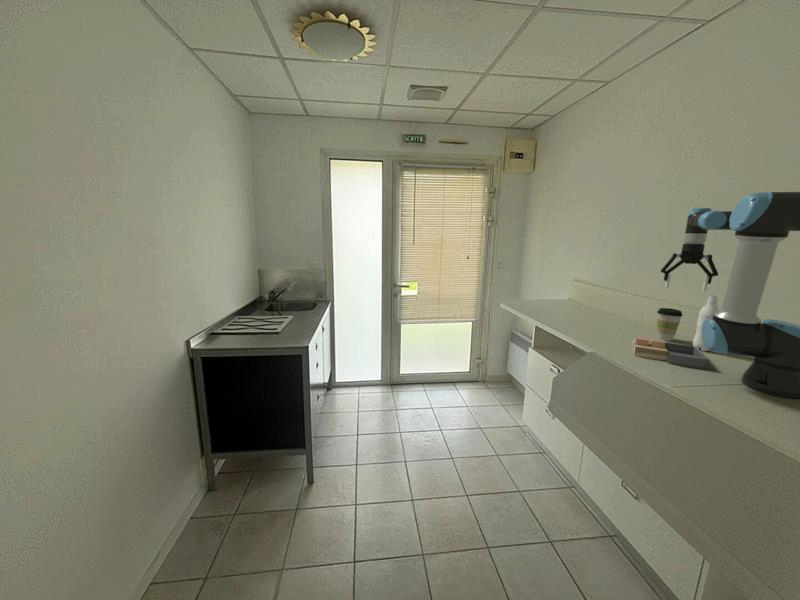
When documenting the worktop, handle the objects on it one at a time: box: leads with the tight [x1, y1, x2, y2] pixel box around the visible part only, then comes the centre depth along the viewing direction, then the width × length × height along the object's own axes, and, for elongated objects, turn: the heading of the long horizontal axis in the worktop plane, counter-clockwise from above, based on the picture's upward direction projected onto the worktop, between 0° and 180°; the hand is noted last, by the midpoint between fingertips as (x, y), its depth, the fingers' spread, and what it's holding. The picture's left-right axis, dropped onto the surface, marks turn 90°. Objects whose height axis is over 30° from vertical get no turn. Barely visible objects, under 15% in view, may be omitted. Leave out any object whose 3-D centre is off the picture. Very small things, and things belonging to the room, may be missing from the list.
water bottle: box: [692, 294, 720, 352], centre depth 147 cm, size 7×7×25 cm
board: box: [630, 338, 668, 362], centre depth 143 cm, size 12×11×4 cm
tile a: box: [634, 336, 650, 346], centre depth 144 cm, size 4×4×2 cm
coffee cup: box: [656, 307, 683, 342], centre depth 163 cm, size 10×10×15 cm
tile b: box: [649, 337, 666, 349], centre depth 141 cm, size 4×4×2 cm
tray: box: [664, 341, 710, 370], centre depth 138 cm, size 18×12×4 cm, turn 150°
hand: (685, 289), depth 153 cm, fingers open, 13 cm apart
